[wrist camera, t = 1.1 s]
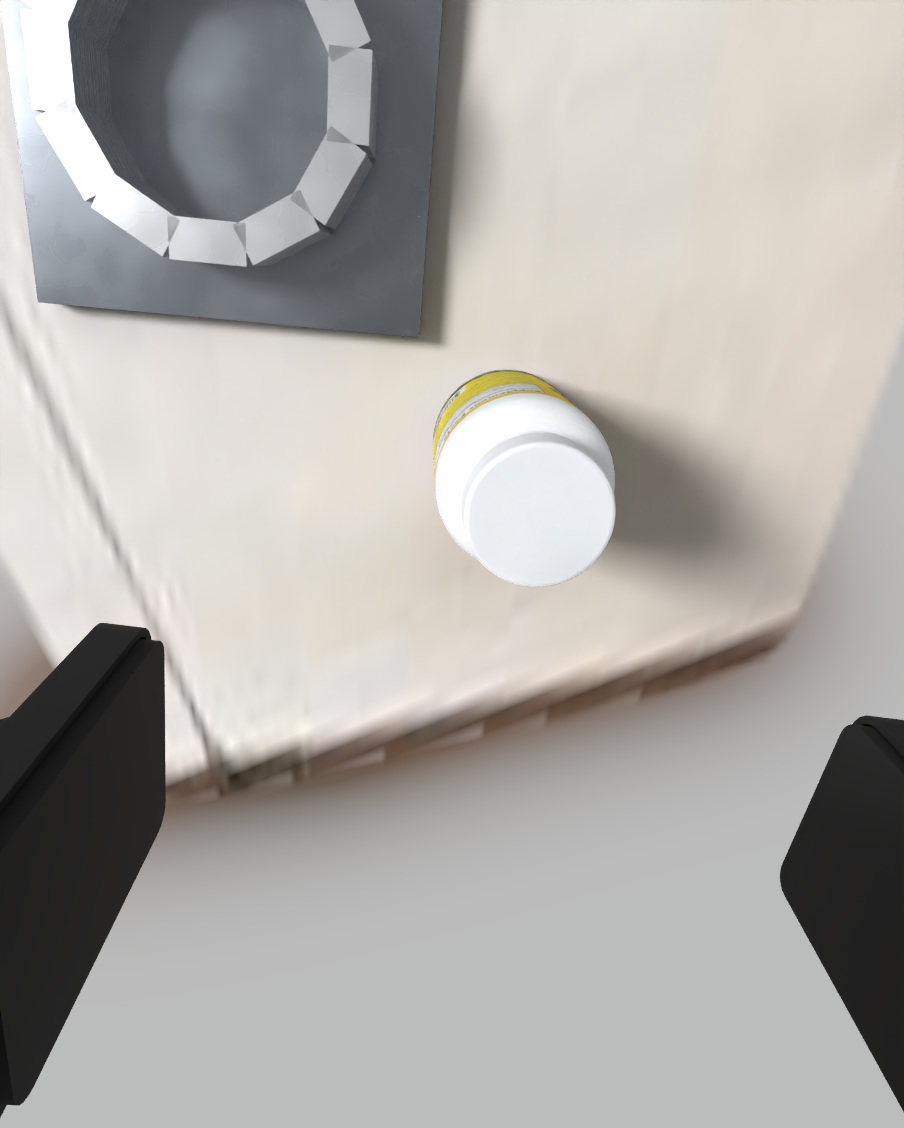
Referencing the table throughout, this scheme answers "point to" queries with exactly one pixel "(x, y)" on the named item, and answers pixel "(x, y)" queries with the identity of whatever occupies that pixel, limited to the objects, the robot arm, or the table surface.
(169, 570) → the table surface
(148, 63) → the ring collar block
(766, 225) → the table surface
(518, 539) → the supplement bottle
